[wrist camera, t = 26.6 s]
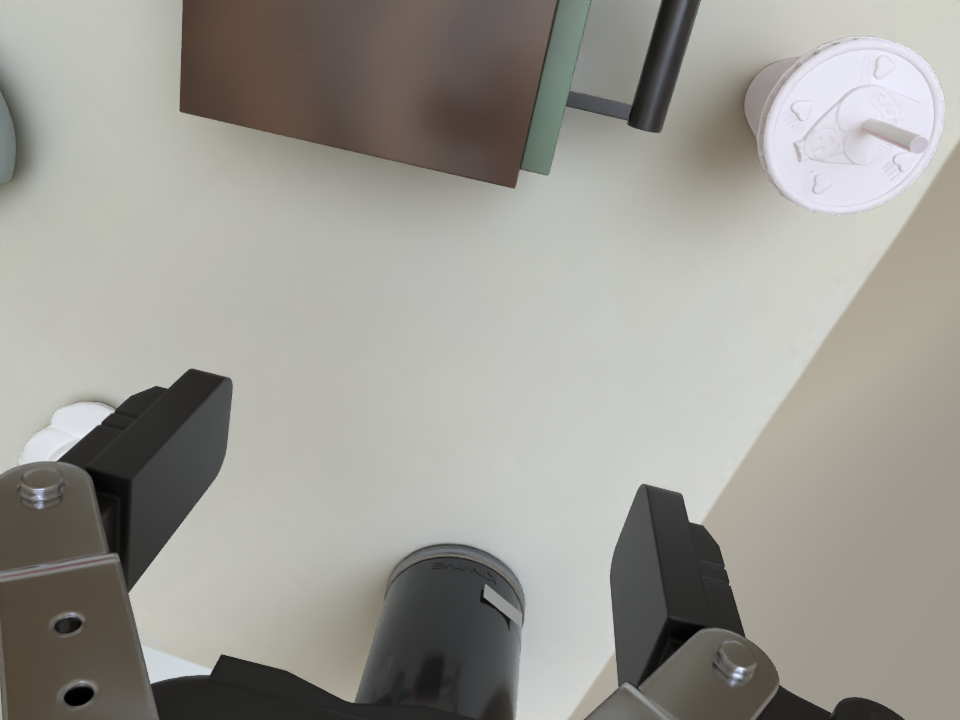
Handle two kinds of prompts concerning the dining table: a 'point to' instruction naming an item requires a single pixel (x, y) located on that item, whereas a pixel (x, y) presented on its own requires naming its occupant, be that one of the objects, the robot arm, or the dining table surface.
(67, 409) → the rose
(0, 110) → the air freshener
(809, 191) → the smoothie
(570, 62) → the drawer
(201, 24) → the cabinet
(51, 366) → the dining table surface
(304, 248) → the dining table surface
